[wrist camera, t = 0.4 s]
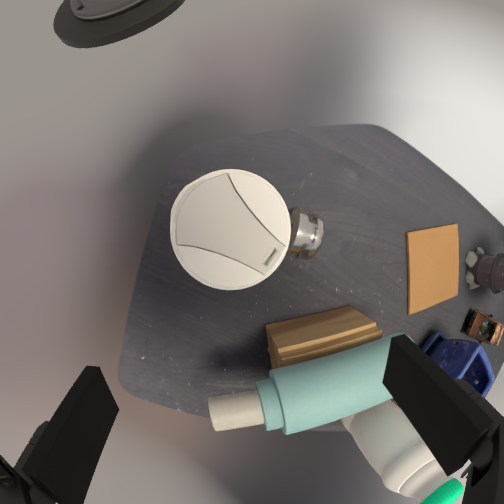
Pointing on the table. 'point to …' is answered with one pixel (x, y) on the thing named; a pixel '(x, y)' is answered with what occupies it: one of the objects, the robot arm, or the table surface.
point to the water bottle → (401, 455)
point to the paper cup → (230, 229)
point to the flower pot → (461, 360)
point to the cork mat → (432, 266)
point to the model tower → (485, 270)
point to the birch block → (319, 335)
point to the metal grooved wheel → (305, 234)
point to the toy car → (484, 328)
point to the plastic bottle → (309, 391)
